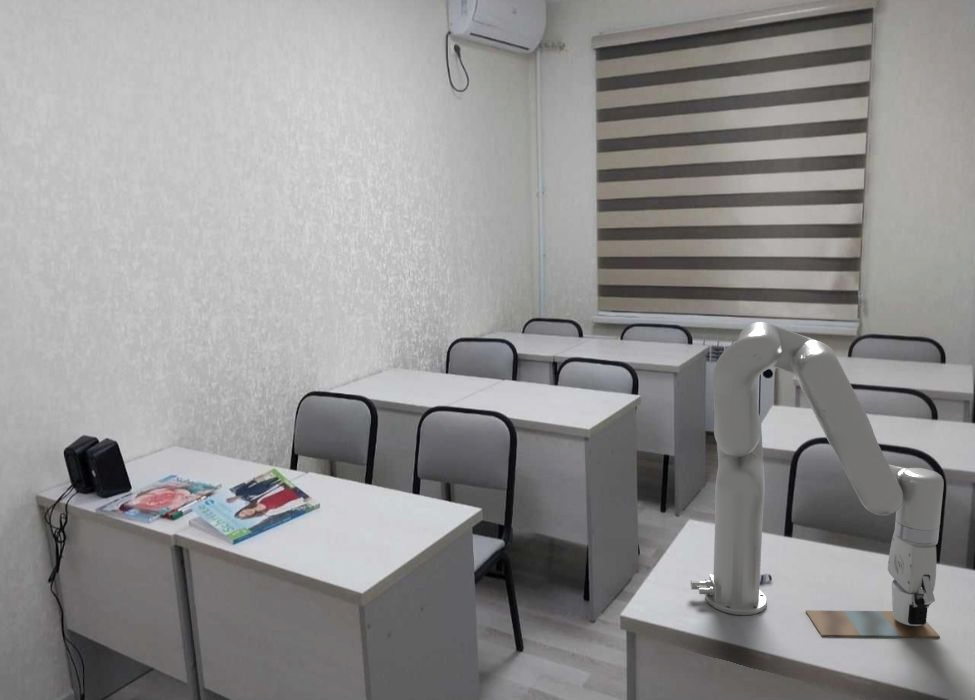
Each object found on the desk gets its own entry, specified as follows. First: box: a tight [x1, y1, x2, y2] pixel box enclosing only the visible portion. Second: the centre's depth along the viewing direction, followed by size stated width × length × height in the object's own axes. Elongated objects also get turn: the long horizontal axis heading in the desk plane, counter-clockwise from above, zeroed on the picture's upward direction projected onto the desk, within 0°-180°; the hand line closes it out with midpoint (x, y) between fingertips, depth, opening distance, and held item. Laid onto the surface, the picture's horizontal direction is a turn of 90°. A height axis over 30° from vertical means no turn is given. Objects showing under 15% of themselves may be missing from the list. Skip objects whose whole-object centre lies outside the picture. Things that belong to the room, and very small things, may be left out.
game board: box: [805, 609, 941, 639], centre depth 152 cm, size 22×9×1 cm, turn 86°
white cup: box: [891, 579, 924, 626], centre depth 150 cm, size 7×7×7 cm
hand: (908, 613), depth 151 cm, fingers closed on white cup, 5 cm apart
